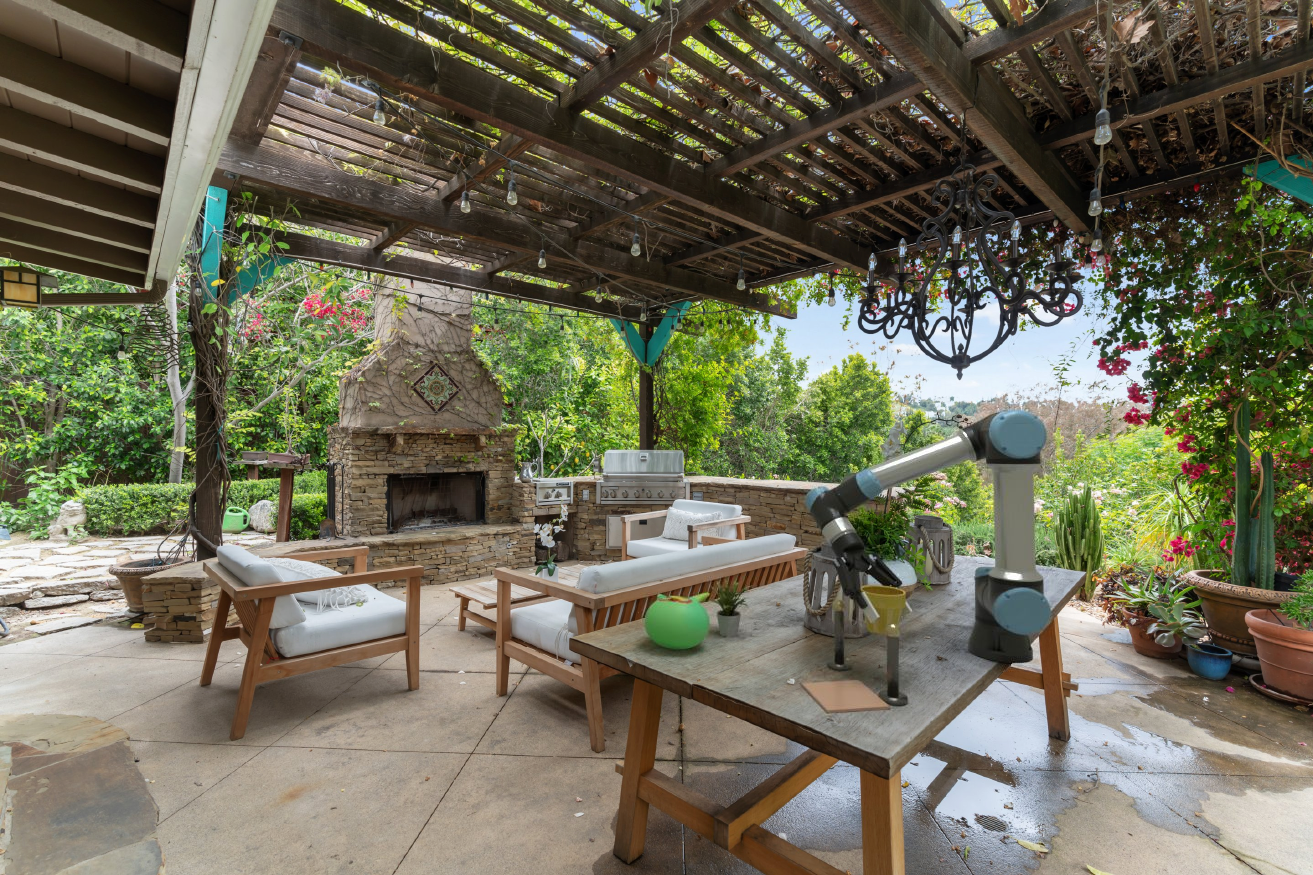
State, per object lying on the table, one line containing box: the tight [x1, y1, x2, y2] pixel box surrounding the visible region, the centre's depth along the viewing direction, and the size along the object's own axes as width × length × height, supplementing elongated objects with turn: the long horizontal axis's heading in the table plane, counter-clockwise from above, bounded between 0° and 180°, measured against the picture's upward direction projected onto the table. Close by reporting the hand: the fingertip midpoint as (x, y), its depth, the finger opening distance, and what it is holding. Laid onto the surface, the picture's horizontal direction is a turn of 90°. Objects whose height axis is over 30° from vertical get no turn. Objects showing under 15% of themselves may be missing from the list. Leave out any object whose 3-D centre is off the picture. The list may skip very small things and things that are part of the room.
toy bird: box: [644, 592, 711, 650], centre depth 163 cm, size 18×17×15 cm
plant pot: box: [860, 584, 907, 636], centre depth 140 cm, size 10×10×10 cm
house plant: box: [707, 578, 754, 637], centre depth 173 cm, size 14×14×16 cm
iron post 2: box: [877, 623, 909, 707], centre depth 129 cm, size 6×6×17 cm
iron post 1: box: [826, 599, 853, 672], centre depth 149 cm, size 6×6×17 cm
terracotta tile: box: [801, 679, 891, 714], centre depth 131 cm, size 14×14×1 cm
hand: (892, 617), depth 138 cm, fingers closed on plant pot, 10 cm apart
